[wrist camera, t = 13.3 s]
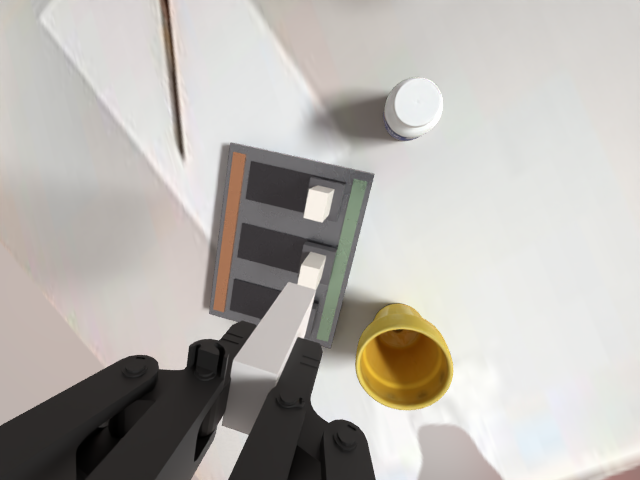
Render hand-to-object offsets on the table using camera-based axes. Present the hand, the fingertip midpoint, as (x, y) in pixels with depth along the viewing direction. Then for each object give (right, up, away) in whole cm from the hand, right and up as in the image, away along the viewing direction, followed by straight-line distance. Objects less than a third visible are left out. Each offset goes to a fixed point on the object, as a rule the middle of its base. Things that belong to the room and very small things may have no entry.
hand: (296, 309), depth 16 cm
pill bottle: (+11, +18, +20) cm, 29 cm away
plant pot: (+12, -8, +27) cm, 30 cm away
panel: (-3, +3, +27) cm, 27 cm away
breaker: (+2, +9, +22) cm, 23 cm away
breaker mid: (+1, +1, +24) cm, 24 cm away
